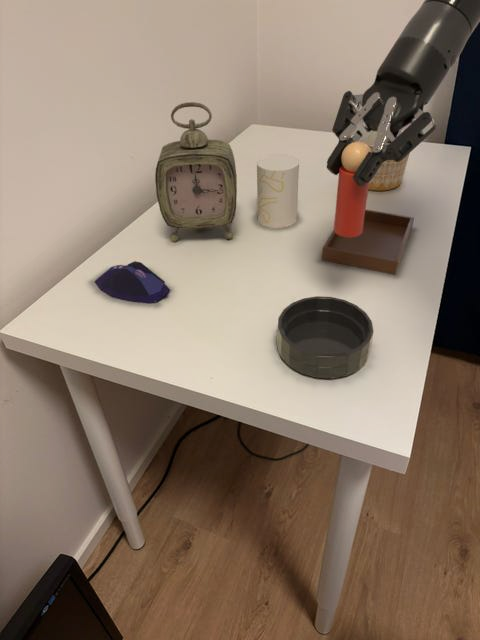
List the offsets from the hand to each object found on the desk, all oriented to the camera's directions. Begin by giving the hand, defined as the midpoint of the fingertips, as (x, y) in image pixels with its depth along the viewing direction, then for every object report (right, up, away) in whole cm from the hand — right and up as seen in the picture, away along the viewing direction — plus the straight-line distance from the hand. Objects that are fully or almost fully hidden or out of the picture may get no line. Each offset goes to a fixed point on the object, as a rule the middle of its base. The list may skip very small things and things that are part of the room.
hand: (344, 176), depth 62 cm
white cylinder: (-6, +3, +39) cm, 40 cm away
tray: (+11, -4, +30) cm, 32 cm away
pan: (-1, -23, +8) cm, 24 cm away
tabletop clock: (-21, -1, +35) cm, 41 cm away
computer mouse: (-32, -13, +22) cm, 40 cm away
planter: (+19, +14, +51) cm, 56 cm away
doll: (+2, -6, +6) cm, 9 cm away
